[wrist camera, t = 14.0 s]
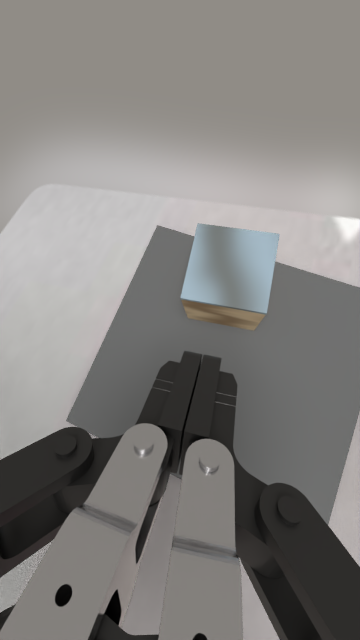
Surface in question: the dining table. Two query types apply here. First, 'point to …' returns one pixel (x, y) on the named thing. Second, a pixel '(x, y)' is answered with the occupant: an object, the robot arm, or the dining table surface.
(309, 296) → the mat
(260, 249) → the cube
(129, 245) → the dining table surface
